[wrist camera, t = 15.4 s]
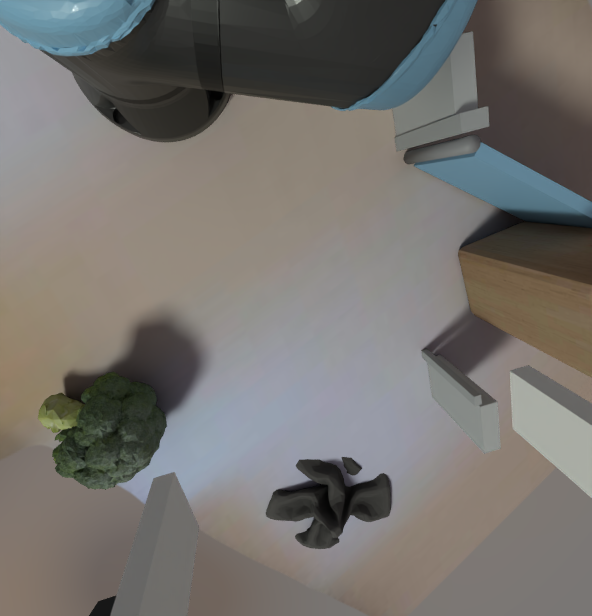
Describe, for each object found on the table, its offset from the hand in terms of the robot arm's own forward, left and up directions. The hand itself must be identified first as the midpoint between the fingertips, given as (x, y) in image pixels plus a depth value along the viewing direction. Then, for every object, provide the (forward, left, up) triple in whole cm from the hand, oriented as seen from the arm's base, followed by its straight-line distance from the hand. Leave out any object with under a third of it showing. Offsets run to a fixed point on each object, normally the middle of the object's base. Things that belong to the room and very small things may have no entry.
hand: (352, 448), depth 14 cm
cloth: (+36, -2, -32) cm, 48 cm away
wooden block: (+7, +28, -32) cm, 43 cm away
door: (-2, +29, -31) cm, 43 cm away
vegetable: (+11, -24, -32) cm, 42 cm away
